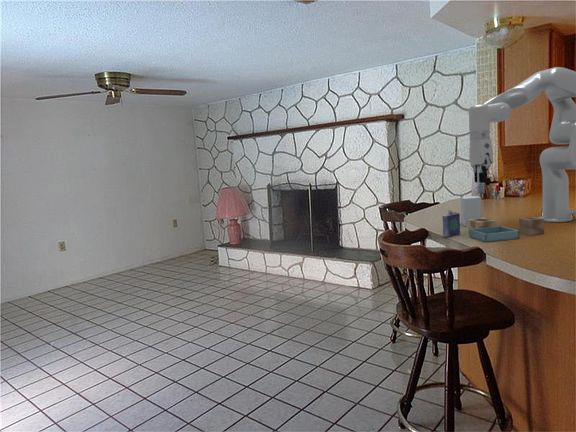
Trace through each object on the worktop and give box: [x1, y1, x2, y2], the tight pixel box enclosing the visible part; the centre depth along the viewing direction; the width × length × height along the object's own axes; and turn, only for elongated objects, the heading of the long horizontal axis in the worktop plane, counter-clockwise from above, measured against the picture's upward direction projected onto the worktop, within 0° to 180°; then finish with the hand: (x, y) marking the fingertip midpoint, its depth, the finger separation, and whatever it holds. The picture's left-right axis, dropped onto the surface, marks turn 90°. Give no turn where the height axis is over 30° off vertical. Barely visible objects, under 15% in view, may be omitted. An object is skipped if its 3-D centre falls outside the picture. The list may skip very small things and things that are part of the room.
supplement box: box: [460, 195, 483, 227], centre depth 189 cm, size 7×7×13 cm
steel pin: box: [476, 164, 486, 195], centre depth 170 cm, size 3×3×12 cm
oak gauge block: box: [467, 217, 498, 232], centre depth 172 cm, size 8×8×5 cm
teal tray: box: [469, 225, 520, 243], centre depth 160 cm, size 13×11×3 cm
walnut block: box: [518, 216, 545, 237], centre depth 162 cm, size 6×6×6 cm
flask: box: [441, 209, 461, 238], centre depth 170 cm, size 9×3×11 cm, turn 121°
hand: (480, 181), depth 170 cm, fingers closed on steel pin, 2 cm apart
